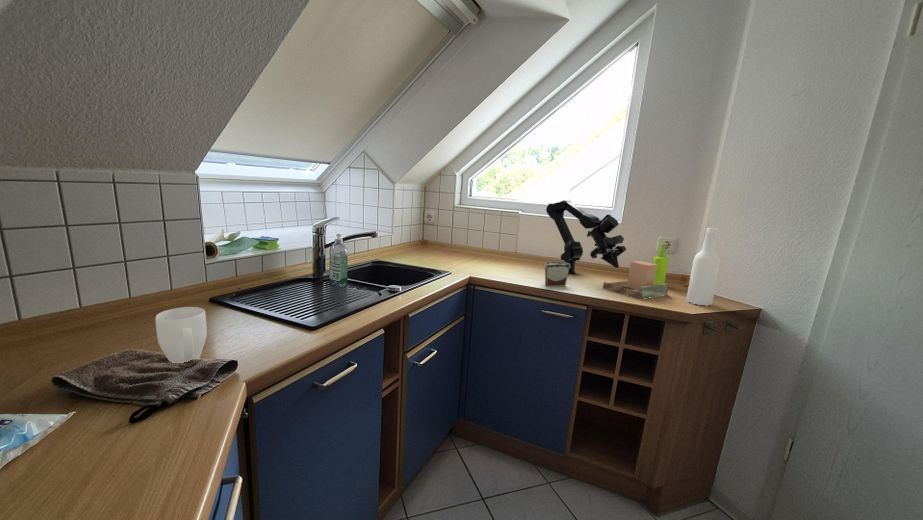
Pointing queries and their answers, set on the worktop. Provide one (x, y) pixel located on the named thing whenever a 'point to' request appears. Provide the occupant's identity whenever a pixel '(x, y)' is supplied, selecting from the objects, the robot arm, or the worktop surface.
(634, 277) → the block
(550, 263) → the food container
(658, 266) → the soap dispenser
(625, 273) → the worktop surface
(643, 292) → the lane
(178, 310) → the mug
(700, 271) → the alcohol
